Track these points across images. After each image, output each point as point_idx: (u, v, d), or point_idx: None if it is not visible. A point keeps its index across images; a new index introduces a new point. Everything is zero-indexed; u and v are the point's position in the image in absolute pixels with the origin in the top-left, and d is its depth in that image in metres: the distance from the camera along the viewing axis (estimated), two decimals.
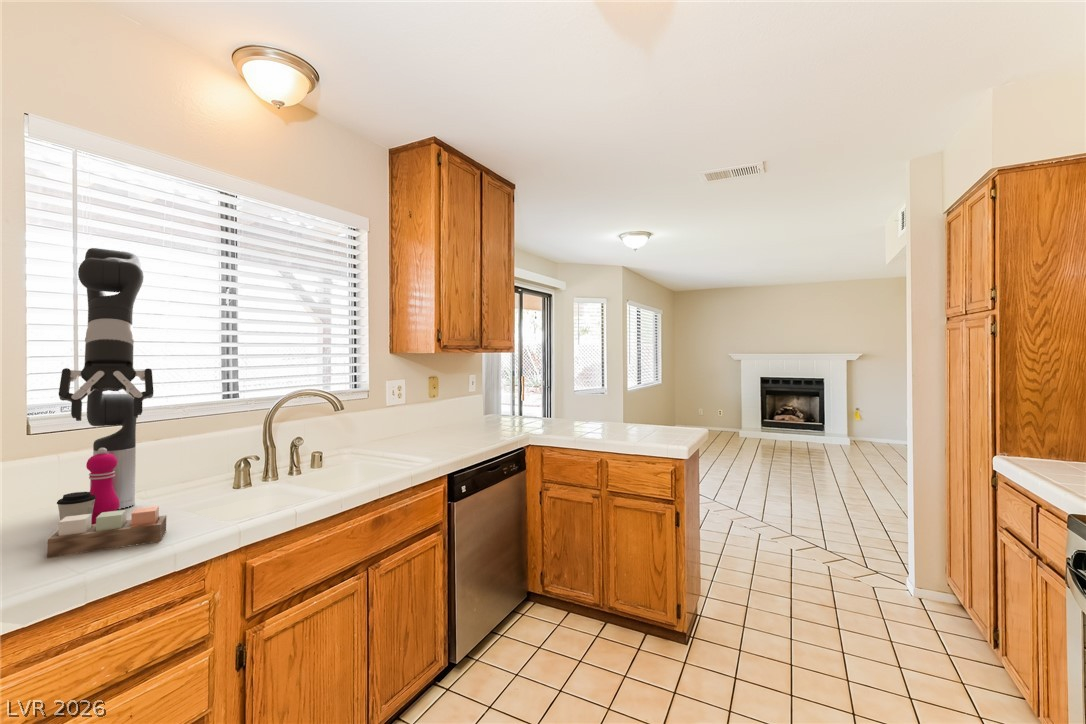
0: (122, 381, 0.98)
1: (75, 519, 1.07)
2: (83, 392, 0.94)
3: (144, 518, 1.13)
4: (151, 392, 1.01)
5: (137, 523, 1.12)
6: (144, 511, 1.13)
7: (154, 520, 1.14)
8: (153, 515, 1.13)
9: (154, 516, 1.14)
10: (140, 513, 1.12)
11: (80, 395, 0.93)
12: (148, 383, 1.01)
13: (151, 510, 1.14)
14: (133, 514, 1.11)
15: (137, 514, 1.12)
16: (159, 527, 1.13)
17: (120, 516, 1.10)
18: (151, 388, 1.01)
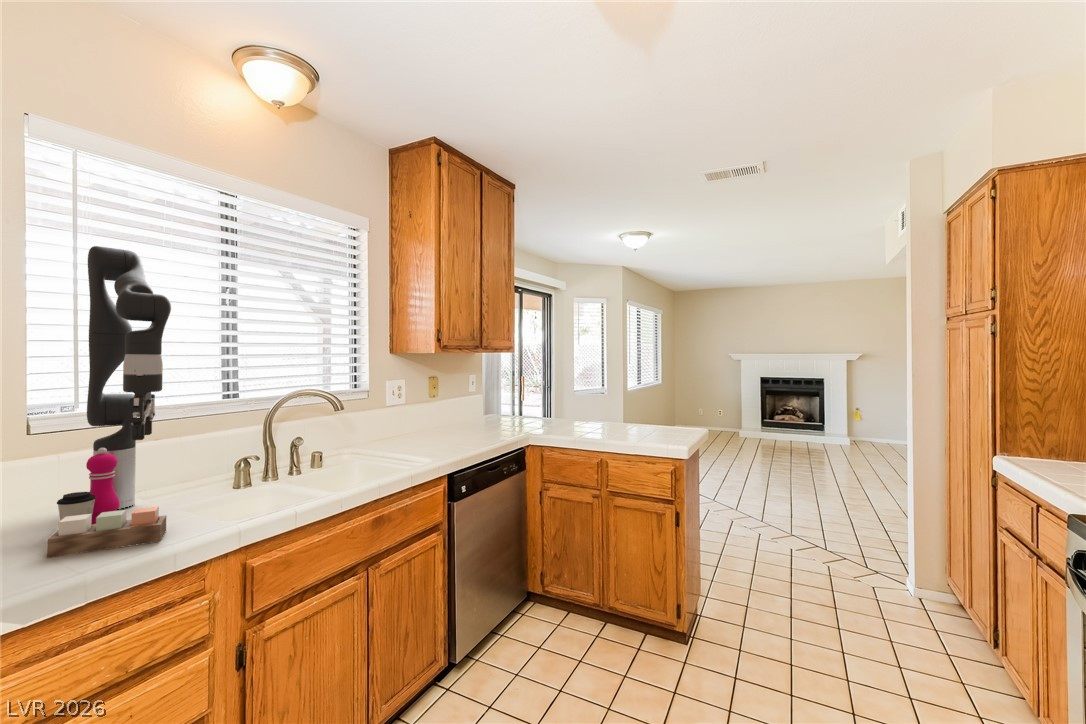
0: (153, 407, 1.21)
1: (75, 519, 1.07)
2: (145, 417, 1.16)
3: (144, 518, 1.13)
4: (154, 414, 1.25)
5: (137, 523, 1.12)
6: (144, 511, 1.13)
7: (154, 520, 1.14)
8: (153, 515, 1.13)
9: (154, 516, 1.14)
10: (140, 513, 1.12)
11: (145, 420, 1.15)
12: (153, 407, 1.24)
13: (151, 510, 1.14)
14: (133, 514, 1.11)
15: (137, 514, 1.12)
16: (159, 527, 1.13)
17: (120, 516, 1.10)
18: (154, 411, 1.24)
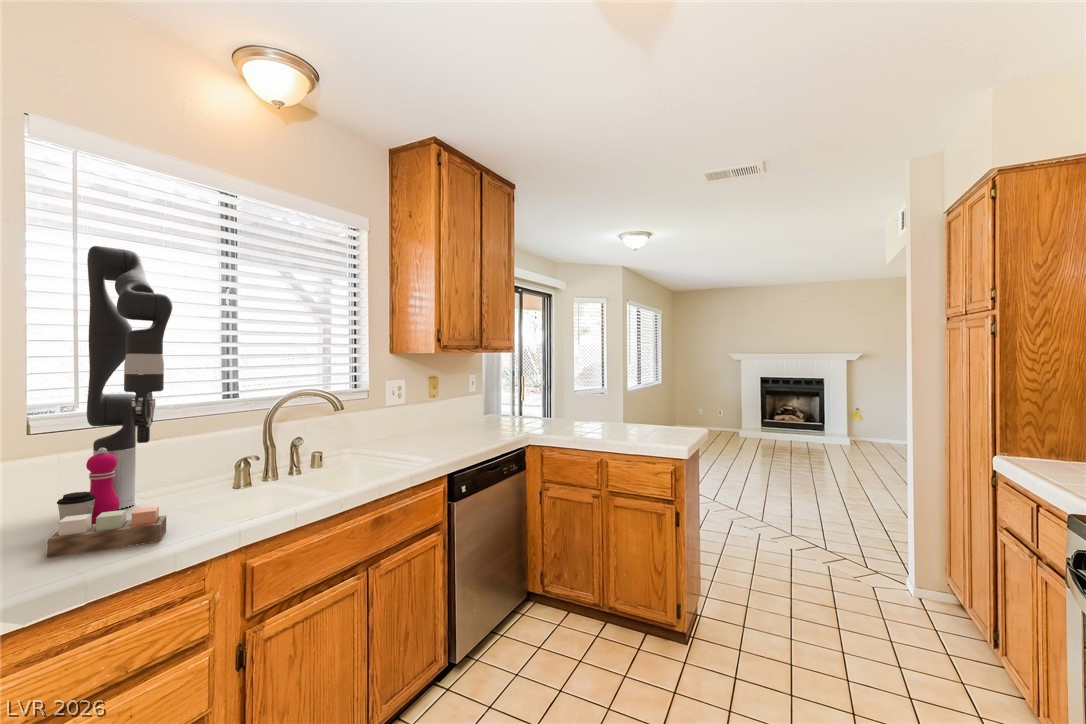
0: (153, 408, 1.18)
1: (75, 519, 1.07)
2: (149, 419, 1.17)
3: (144, 518, 1.13)
4: (152, 421, 1.20)
5: (137, 523, 1.12)
6: (144, 511, 1.13)
7: (154, 520, 1.14)
8: (153, 515, 1.13)
9: (154, 516, 1.14)
10: (140, 513, 1.12)
11: (149, 422, 1.17)
12: None
13: (151, 510, 1.14)
14: (133, 514, 1.11)
15: (137, 514, 1.12)
16: (159, 527, 1.13)
17: (120, 516, 1.10)
18: (152, 418, 1.20)
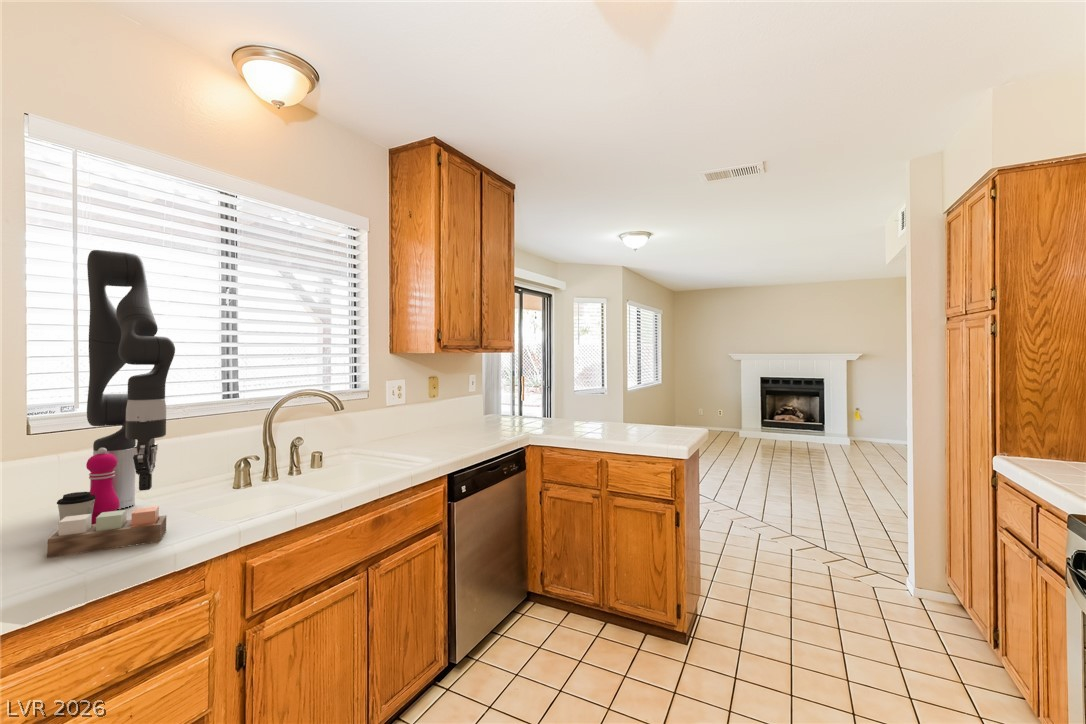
0: (155, 454, 1.16)
1: (75, 519, 1.07)
2: (151, 465, 1.14)
3: (144, 518, 1.13)
4: None
5: (137, 523, 1.12)
6: (144, 511, 1.13)
7: (154, 520, 1.14)
8: (153, 515, 1.13)
9: (154, 516, 1.14)
10: (140, 513, 1.12)
11: (151, 468, 1.14)
12: None
13: (151, 510, 1.14)
14: (133, 514, 1.11)
15: (137, 514, 1.12)
16: (159, 527, 1.13)
17: (120, 516, 1.10)
18: (154, 464, 1.18)
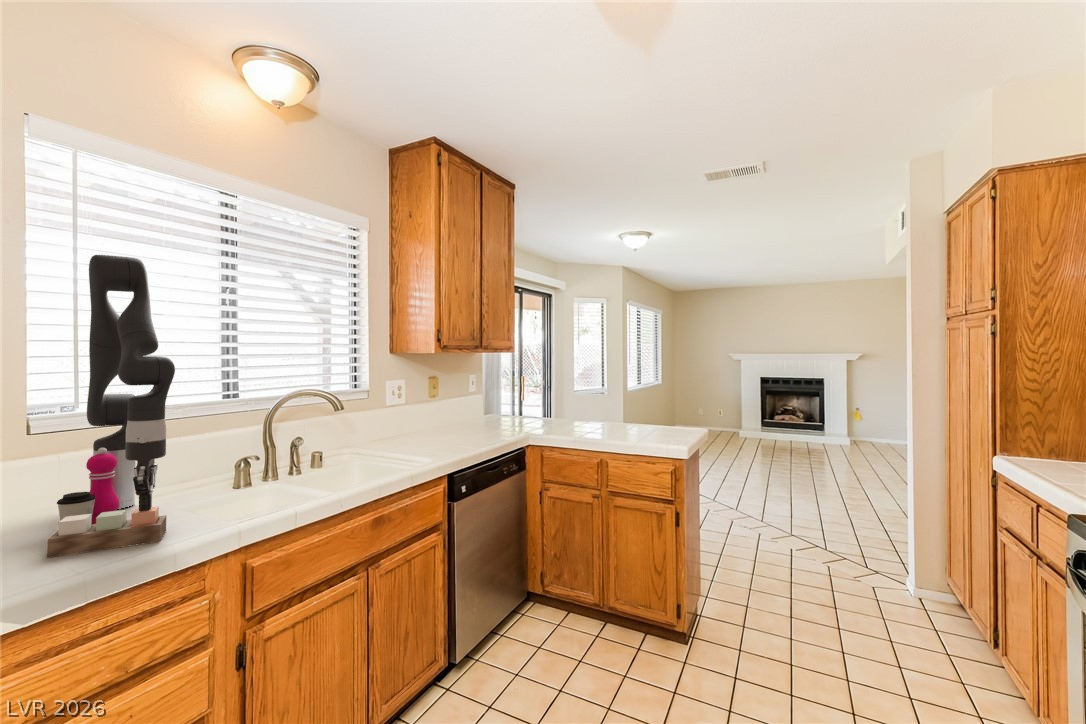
0: (155, 474, 1.16)
1: (75, 519, 1.07)
2: (151, 486, 1.14)
3: (144, 518, 1.13)
4: None
5: (137, 523, 1.12)
6: (144, 511, 1.13)
7: (154, 520, 1.14)
8: (153, 515, 1.13)
9: (154, 516, 1.14)
10: (140, 513, 1.12)
11: (151, 489, 1.14)
12: None
13: (151, 510, 1.14)
14: (133, 514, 1.11)
15: (137, 514, 1.12)
16: (159, 527, 1.13)
17: (120, 516, 1.10)
18: (154, 483, 1.18)
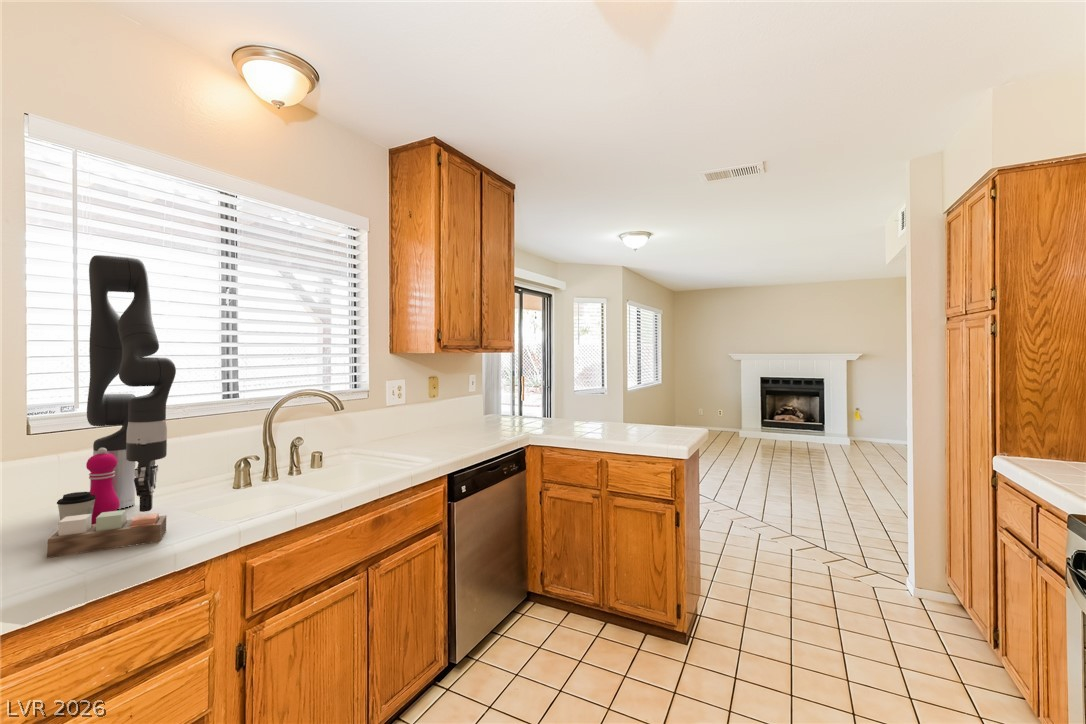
0: (155, 475, 1.16)
1: (75, 519, 1.07)
2: (152, 487, 1.15)
3: None
4: (154, 487, 1.17)
5: None
6: (144, 518, 1.13)
7: None
8: (153, 522, 1.13)
9: None
10: (140, 520, 1.12)
11: (152, 489, 1.15)
12: None
13: (151, 517, 1.14)
14: (133, 521, 1.11)
15: (137, 521, 1.12)
16: (159, 527, 1.13)
17: (120, 516, 1.10)
18: None
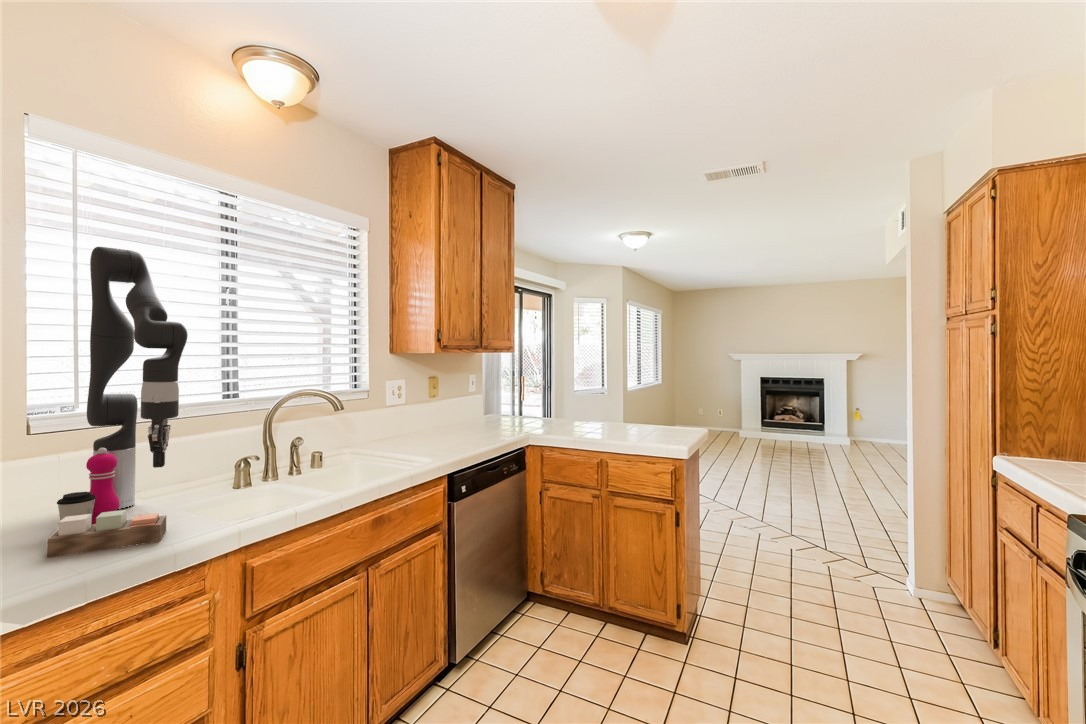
0: (168, 433, 1.22)
1: (75, 519, 1.07)
2: (164, 444, 1.21)
3: None
4: (167, 445, 1.23)
5: None
6: (144, 518, 1.13)
7: None
8: (153, 522, 1.13)
9: None
10: (140, 520, 1.12)
11: (164, 447, 1.21)
12: None
13: (151, 517, 1.14)
14: (133, 521, 1.11)
15: (137, 521, 1.12)
16: (159, 527, 1.13)
17: (120, 516, 1.10)
18: (167, 442, 1.24)
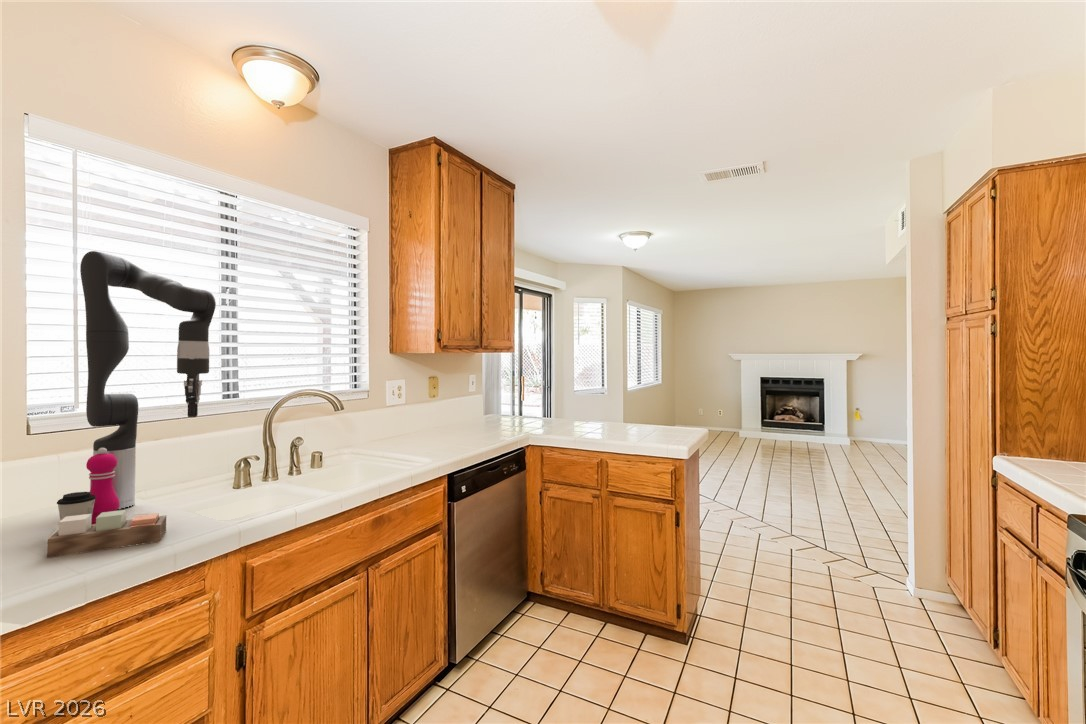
0: None
1: (75, 519, 1.07)
2: (197, 397, 1.37)
3: None
4: (199, 399, 1.40)
5: None
6: (144, 518, 1.13)
7: None
8: (153, 522, 1.13)
9: None
10: (140, 520, 1.12)
11: (197, 399, 1.37)
12: None
13: (151, 517, 1.14)
14: (133, 521, 1.11)
15: (137, 521, 1.12)
16: (159, 527, 1.13)
17: (120, 516, 1.10)
18: None
